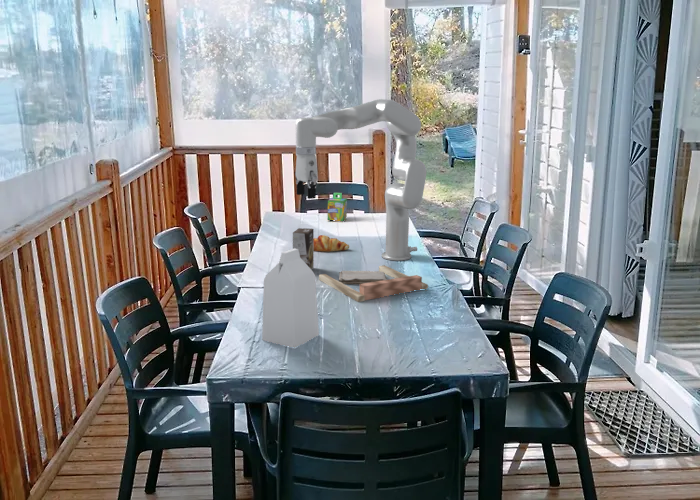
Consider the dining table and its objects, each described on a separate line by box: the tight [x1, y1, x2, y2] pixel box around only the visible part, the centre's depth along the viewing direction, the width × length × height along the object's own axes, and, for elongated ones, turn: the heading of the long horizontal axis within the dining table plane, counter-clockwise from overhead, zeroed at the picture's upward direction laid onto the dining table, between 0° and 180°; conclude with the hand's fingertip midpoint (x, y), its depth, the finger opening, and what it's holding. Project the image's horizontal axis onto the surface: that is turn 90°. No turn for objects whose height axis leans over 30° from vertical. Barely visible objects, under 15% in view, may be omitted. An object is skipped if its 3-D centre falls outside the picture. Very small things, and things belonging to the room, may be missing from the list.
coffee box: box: [292, 227, 315, 271], centre depth 256 cm, size 9×6×16 cm
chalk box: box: [326, 192, 348, 222], centre depth 352 cm, size 9×9×15 cm
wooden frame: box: [318, 264, 429, 303], centre depth 240 cm, size 29×29×5 cm
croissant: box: [313, 234, 350, 253], centre depth 290 cm, size 21×10×8 cm, turn 88°
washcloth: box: [338, 270, 387, 286], centre depth 246 cm, size 12×18×3 cm, turn 91°
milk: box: [261, 248, 320, 349], centre depth 187 cm, size 12×12×26 cm
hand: (305, 196), depth 251 cm, fingers open, 9 cm apart
